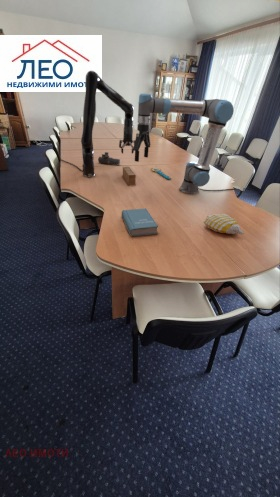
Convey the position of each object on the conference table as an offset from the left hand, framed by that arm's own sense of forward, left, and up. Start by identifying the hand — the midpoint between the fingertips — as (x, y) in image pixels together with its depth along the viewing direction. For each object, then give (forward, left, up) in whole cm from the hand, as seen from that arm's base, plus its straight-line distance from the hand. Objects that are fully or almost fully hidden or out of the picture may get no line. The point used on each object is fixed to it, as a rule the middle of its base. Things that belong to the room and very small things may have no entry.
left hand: (127, 153), depth 190 cm
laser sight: (-36, +24, -21) cm, 48 cm away
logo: (+22, +30, -21) cm, 43 cm away
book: (+50, -70, -21) cm, 88 cm away
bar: (+5, -5, -21) cm, 22 cm away
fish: (+96, -46, -21) cm, 108 cm away
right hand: (+31, -34, +7) cm, 46 cm away
